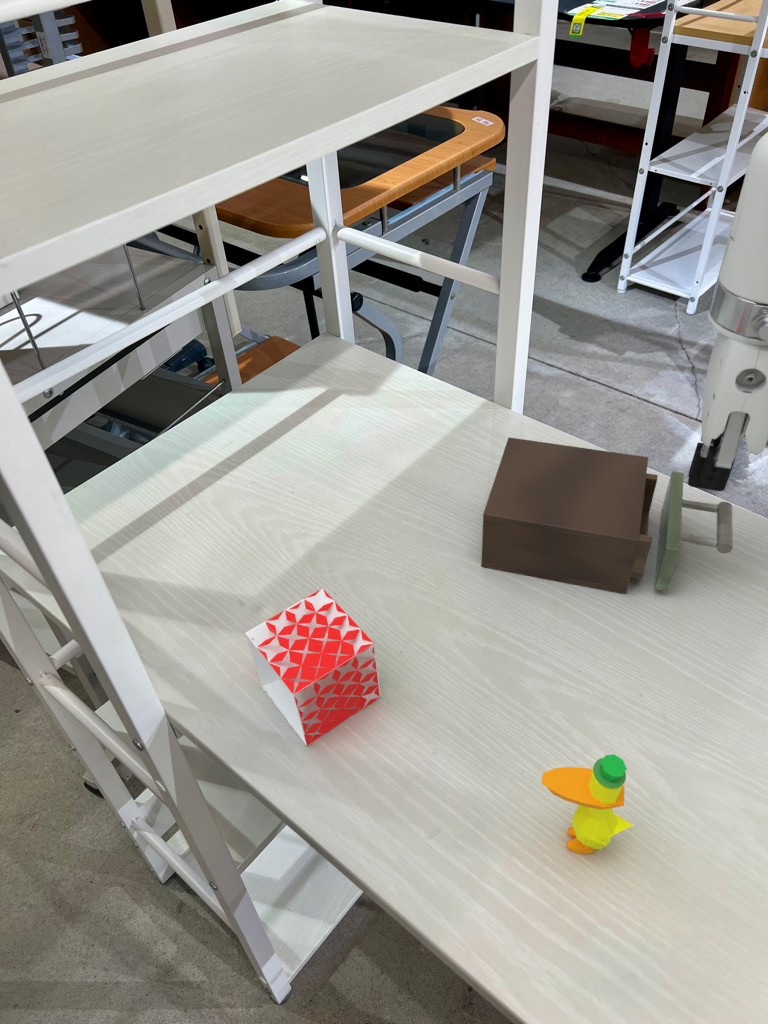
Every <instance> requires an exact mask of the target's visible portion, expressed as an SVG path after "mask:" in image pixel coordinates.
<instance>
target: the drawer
mask: <svg viewBox="0 0 768 1024" xmlns="http://www.w3.org/2000/svg"><path fill="white" fill-rule="evenodd" d="M684 475H685V473H684V472H679V471H671V473H670V477H669V479H668V483H667V484H668V485H667V488H666V492H665V495H664V499H663V504H662V506H661V511H660V522H659V532H658V533H659V534H658V545H657V557H656V566H655V567H656V568H655V578H654V590H659V591H665V592H667V591H668V590H669V587H670V583H671V580H672V577H673V574H674V571H675V566H676V563H677V560H678V557H679V554H680V547H681V543H686V544H691V545H697V546H704V547H710V548H716V550H717V552H719V553H721V554H725V555H726V554H729V553H731V552H732V551H733V549H734V539H733V538H734V535H733V534H734V531H733V522H734V521H733V505H732V504H731V503H730V502H728V501H720V502H719V503H718V504H715V503H707V502H701V501H695V500H689V499H684V498H683V497H684V481H685V480H684V479H685V478H684V477H685V476H684ZM657 483H658V474H653V473H646V482H645V491H644V500H643V509H642V518H641V527H640V536H639V543H638V547H637V551H636V555H635V559H634V563H633V567H632V572H631V576H630V578H632V579H633V578H634V579H638V580H642V579H643V575H644V571H645V568H646V564H647V560H648V556H649V553H650V550H651V549H650V548H651V545H652V539H653V538H652V537H653V536H652V535H648V528H649V518H650V511H651V507H652V502H653V498H654V494H655V491H656V487H657ZM683 509H688V510H689V509H690V510H696V511H702V512H709V513H714V514H716V538H711V537H705V536H701V535H700V536H699V535H694V534H688V533H681V531H682V529H681V528H682V514H683V513H682V512H683Z"/></svg>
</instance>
